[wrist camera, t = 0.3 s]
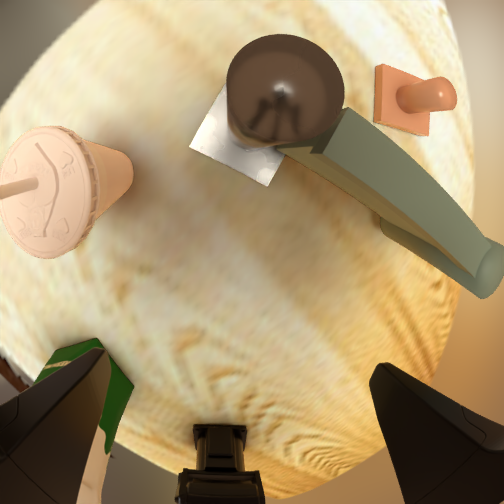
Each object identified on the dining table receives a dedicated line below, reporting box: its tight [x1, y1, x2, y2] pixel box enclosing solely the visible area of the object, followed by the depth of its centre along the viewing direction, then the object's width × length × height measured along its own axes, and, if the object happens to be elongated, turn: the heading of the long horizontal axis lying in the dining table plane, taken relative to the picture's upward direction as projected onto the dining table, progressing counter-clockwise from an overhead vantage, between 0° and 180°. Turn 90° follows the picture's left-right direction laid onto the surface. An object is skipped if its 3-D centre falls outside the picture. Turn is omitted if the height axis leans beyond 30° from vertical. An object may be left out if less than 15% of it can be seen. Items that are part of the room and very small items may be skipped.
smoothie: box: [0, 126, 134, 259], centre depth 12 cm, size 6×6×14 cm
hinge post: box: [189, 34, 344, 187], centre depth 12 cm, size 6×6×14 cm
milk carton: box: [32, 338, 134, 504], centre depth 15 cm, size 9×9×20 cm
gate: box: [277, 107, 504, 299], centre depth 14 cm, size 12×3×10 cm, turn 61°
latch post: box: [374, 64, 457, 136], centre depth 15 cm, size 5×5×6 cm
